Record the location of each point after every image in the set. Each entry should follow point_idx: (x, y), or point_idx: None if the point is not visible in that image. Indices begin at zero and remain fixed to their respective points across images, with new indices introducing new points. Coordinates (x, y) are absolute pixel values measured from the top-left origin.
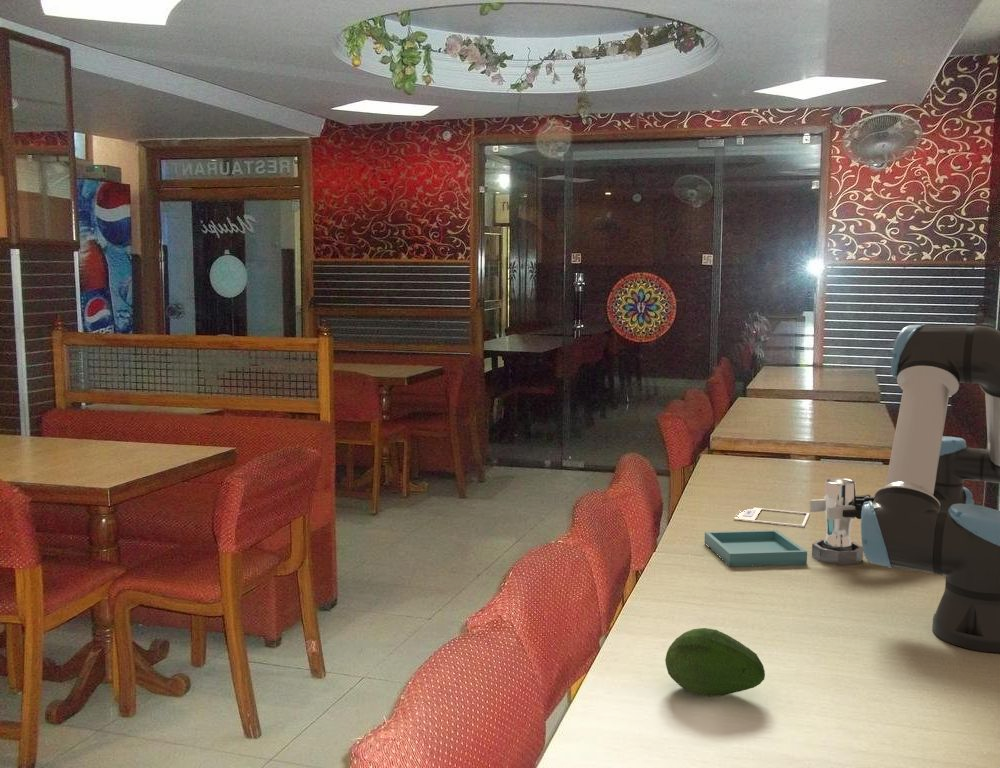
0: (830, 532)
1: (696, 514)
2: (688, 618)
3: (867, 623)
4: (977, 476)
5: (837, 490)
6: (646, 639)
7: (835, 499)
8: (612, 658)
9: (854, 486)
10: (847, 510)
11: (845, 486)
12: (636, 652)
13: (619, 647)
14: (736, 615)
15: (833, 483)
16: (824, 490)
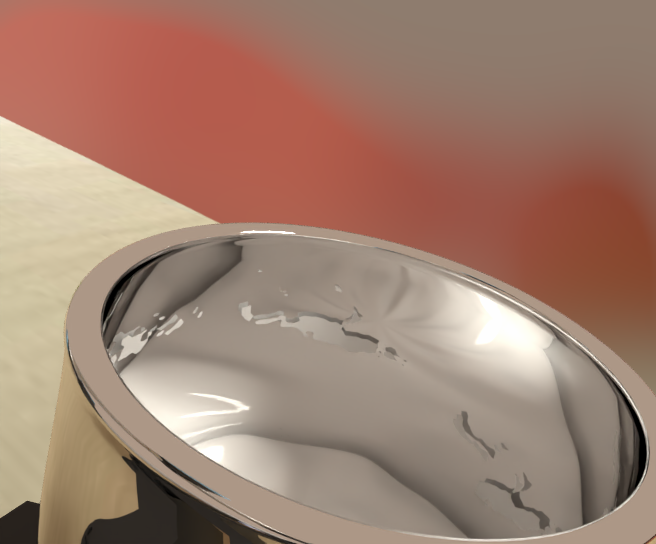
0: None
1: None
2: (66, 202)
3: None
4: None
5: (208, 313)
6: (50, 162)
7: (204, 411)
8: (36, 138)
9: (61, 418)
10: (23, 542)
11: (131, 280)
12: (27, 147)
13: (56, 149)
14: (3, 228)
15: (280, 229)
16: (429, 387)
